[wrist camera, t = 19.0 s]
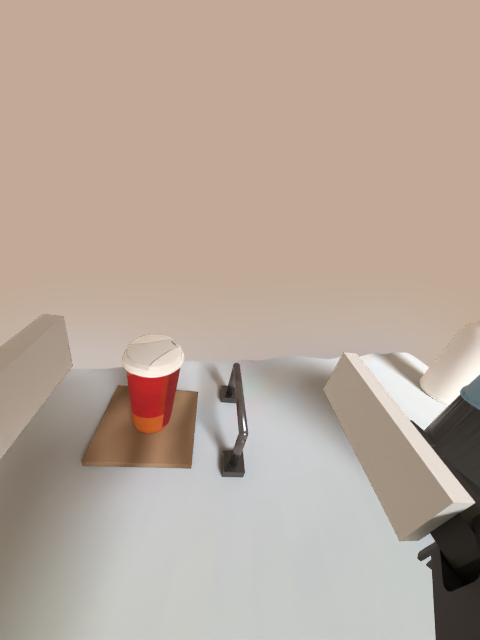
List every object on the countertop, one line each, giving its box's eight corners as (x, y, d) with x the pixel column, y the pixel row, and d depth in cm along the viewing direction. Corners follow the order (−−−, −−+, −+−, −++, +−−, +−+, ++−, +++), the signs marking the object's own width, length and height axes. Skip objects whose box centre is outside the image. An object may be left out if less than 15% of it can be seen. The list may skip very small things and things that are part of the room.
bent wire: (235, 391, 47) (244, 359, 43) (242, 477, 34) (257, 442, 30) (220, 389, 47) (228, 357, 43) (222, 476, 33) (234, 441, 29)
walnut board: (197, 395, 44) (198, 392, 44) (190, 468, 33) (191, 464, 33) (118, 389, 42) (118, 385, 41) (82, 465, 31) (81, 461, 30)
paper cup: (161, 391, 42) (165, 326, 35) (186, 421, 38) (196, 355, 31) (115, 413, 37) (110, 342, 30) (139, 451, 33) (139, 379, 26)
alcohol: (443, 408, 57) (549, 297, 42) (410, 381, 64) (491, 278, 49) (463, 403, 60) (567, 299, 45) (430, 378, 67) (511, 281, 52)
